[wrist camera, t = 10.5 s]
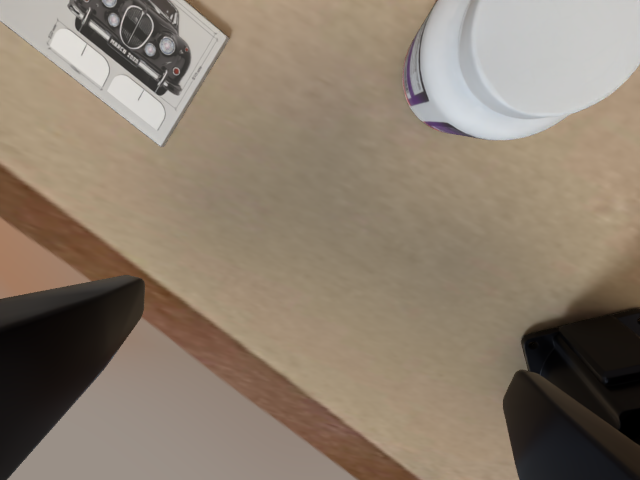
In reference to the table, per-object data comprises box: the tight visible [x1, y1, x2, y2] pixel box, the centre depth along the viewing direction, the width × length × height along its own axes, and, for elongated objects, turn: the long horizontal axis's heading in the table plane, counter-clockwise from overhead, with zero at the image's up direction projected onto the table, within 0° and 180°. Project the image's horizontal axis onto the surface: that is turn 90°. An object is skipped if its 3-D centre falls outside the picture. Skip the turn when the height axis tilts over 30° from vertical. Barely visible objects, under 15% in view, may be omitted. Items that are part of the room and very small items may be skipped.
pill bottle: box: [402, 0, 640, 140], centre depth 13 cm, size 5×5×10 cm
